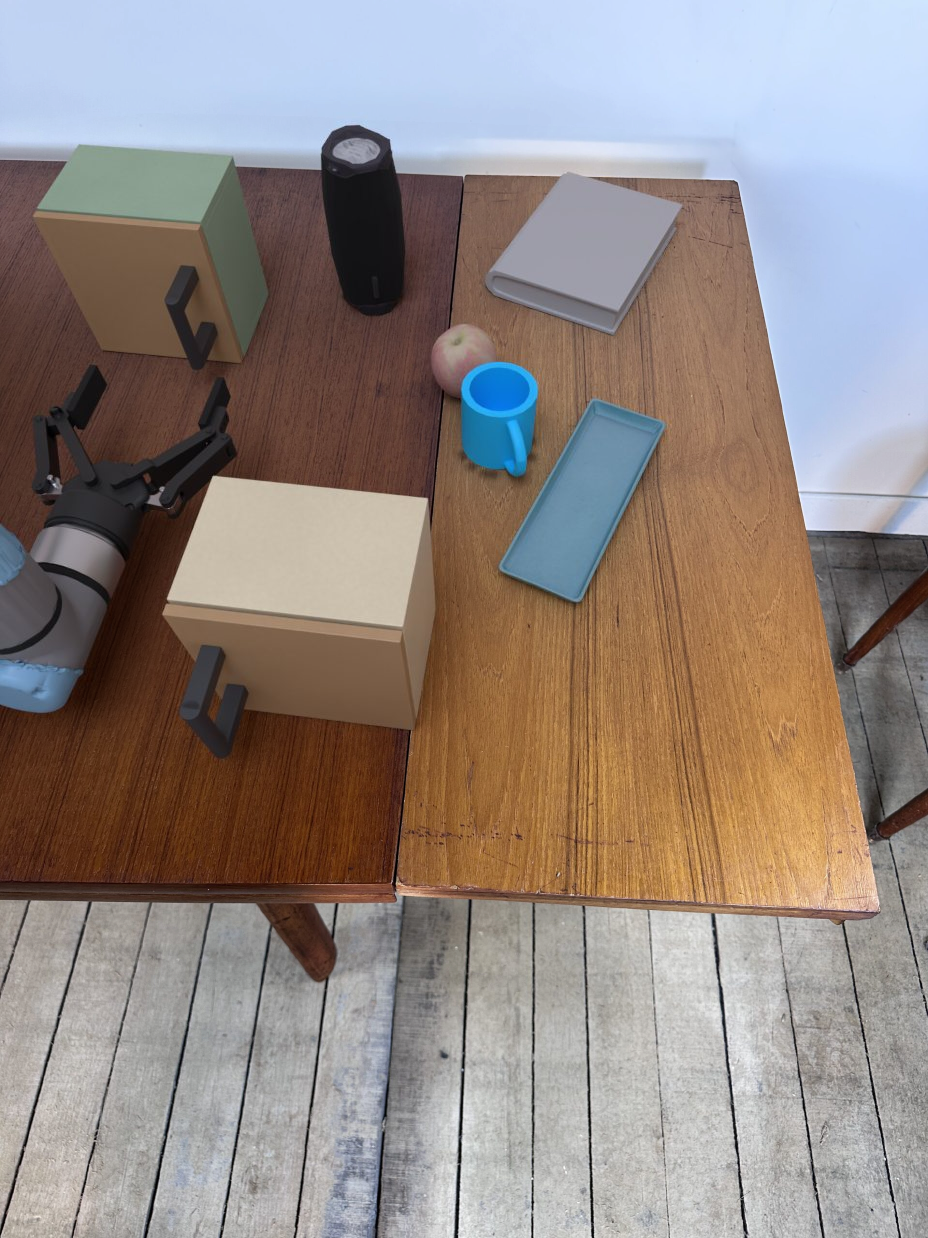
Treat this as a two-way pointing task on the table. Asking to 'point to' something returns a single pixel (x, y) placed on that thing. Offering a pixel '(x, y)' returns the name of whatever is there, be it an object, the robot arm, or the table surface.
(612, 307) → the book
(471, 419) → the mug
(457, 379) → the apple
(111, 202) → the green cupboard
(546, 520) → the rectangular tray
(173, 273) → the tan wooden panel
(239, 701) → the beige drawer front
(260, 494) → the cream cupboard
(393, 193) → the portable speaker
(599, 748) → the table surface
